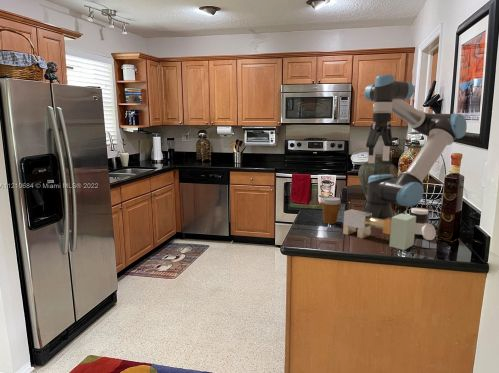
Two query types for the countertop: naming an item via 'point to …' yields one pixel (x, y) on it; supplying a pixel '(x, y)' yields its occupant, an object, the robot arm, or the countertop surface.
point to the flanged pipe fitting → (423, 224)
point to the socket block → (402, 231)
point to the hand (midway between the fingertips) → (378, 161)
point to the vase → (375, 170)
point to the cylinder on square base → (379, 224)
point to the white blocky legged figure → (356, 223)
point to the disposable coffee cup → (330, 209)
